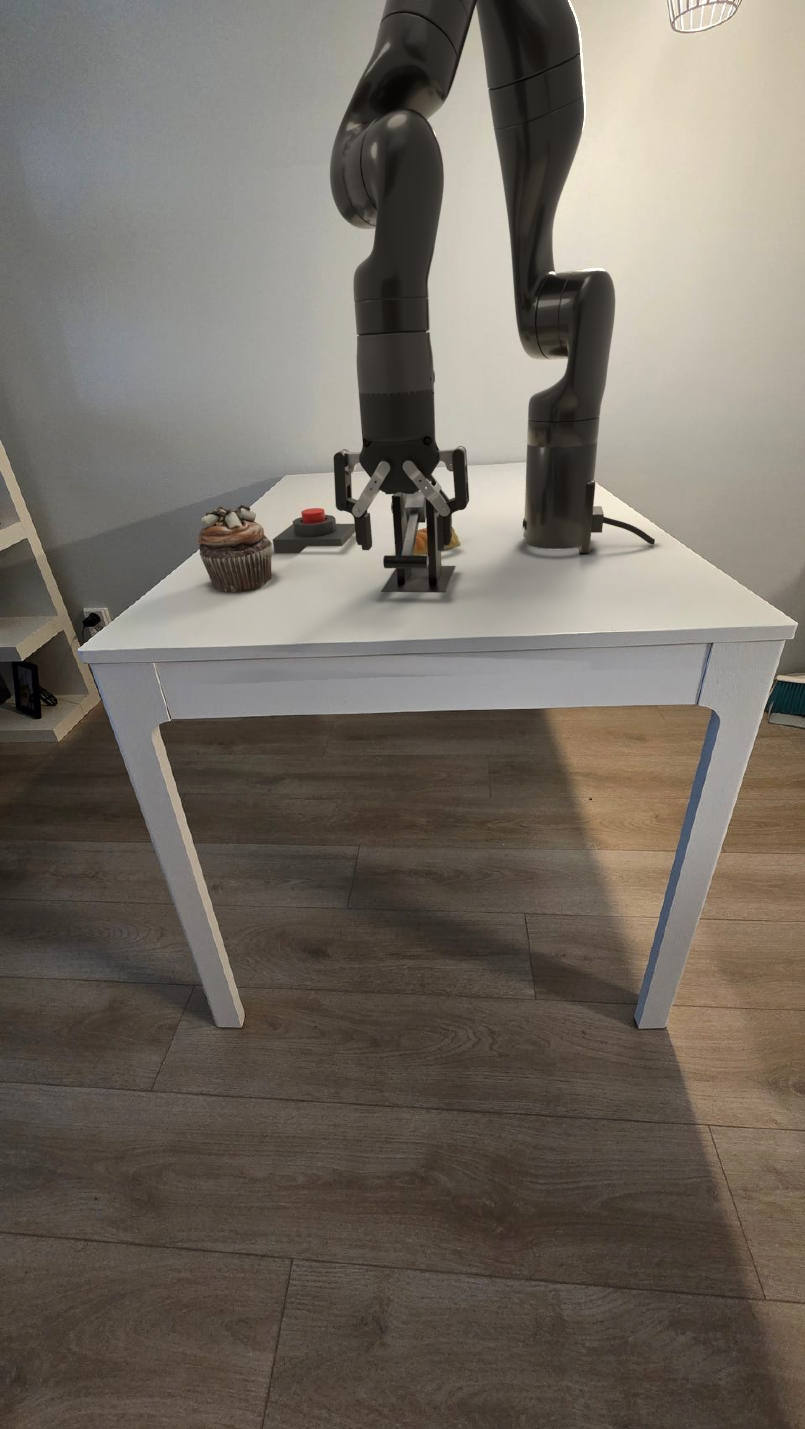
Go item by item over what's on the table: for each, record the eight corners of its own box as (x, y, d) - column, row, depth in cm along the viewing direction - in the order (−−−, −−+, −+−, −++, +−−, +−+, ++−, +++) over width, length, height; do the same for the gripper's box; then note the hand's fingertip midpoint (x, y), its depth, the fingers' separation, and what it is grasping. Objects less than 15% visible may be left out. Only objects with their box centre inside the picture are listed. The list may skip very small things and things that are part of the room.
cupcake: (197, 596, 84) (179, 519, 79) (219, 572, 93) (204, 501, 88) (268, 593, 84) (255, 515, 79) (284, 570, 92) (273, 498, 87)
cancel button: (328, 519, 101) (327, 507, 101) (321, 525, 98) (320, 513, 98) (306, 519, 102) (305, 508, 101) (299, 525, 99) (297, 513, 98)
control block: (357, 537, 105) (355, 512, 103) (342, 553, 97) (339, 526, 95) (294, 537, 107) (290, 513, 105) (274, 553, 99) (270, 527, 97)
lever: (428, 574, 73) (425, 558, 71) (385, 573, 74) (381, 558, 72) (439, 506, 78) (437, 490, 76) (399, 507, 79) (396, 491, 77)
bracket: (445, 601, 77) (443, 500, 71) (381, 600, 79) (373, 501, 73) (456, 574, 86) (454, 482, 80) (397, 574, 87) (391, 483, 81)
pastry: (415, 567, 89) (413, 540, 87) (385, 558, 94) (383, 532, 92) (464, 552, 94) (464, 525, 92) (434, 544, 99) (433, 519, 97)
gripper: (316, 392, 62) (334, 558, 70) (463, 385, 59) (464, 559, 67) (337, 387, 68) (351, 540, 76) (471, 380, 65) (471, 539, 74)
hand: (404, 548), depth 72 cm, fingers open, 8 cm apart
